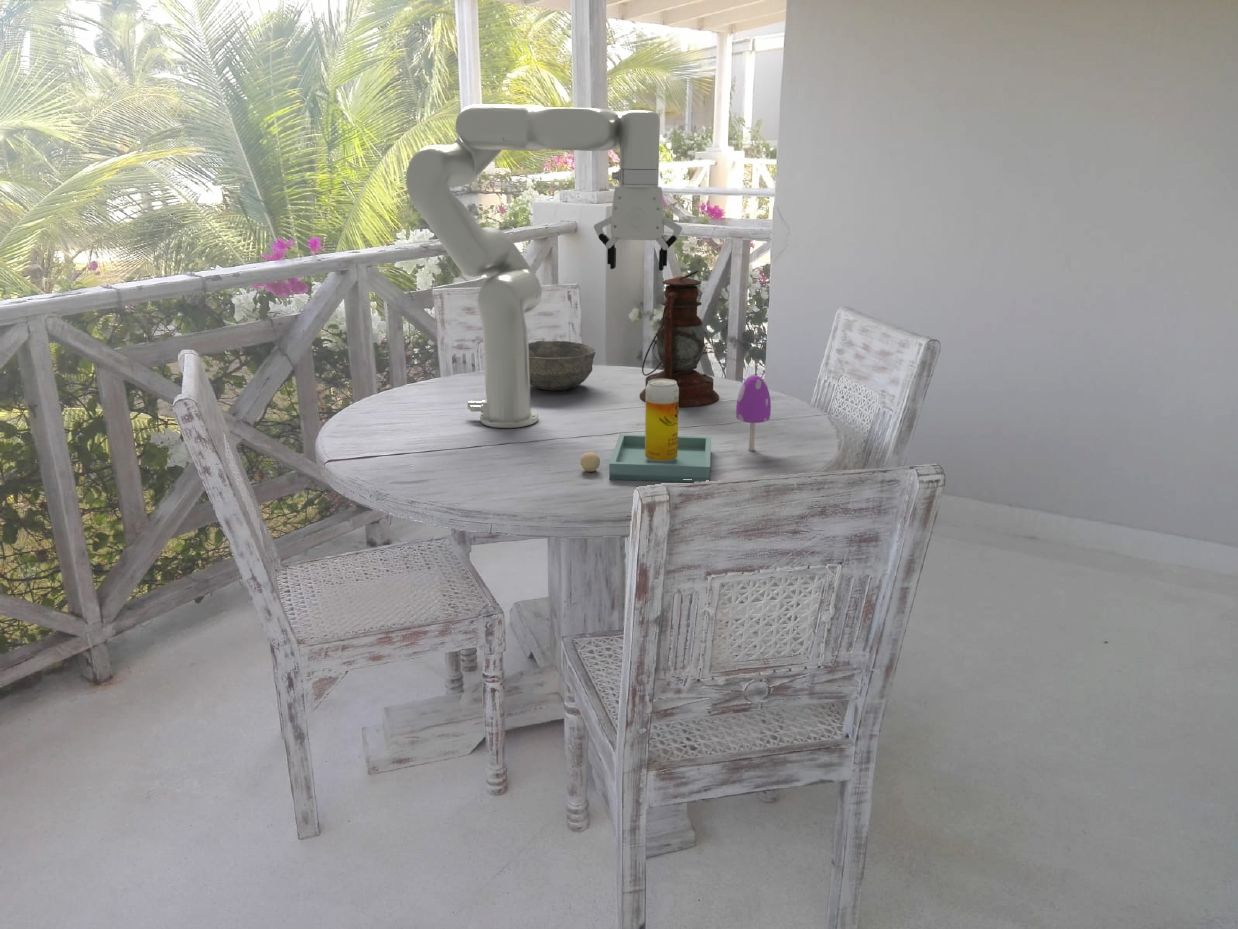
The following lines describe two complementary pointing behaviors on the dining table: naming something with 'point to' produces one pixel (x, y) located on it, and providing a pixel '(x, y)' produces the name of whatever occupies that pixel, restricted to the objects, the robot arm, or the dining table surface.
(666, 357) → the lantern
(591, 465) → the cork ball
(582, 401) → the dining table surface
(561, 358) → the bowl
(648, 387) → the beer can
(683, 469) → the tray
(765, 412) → the toy
